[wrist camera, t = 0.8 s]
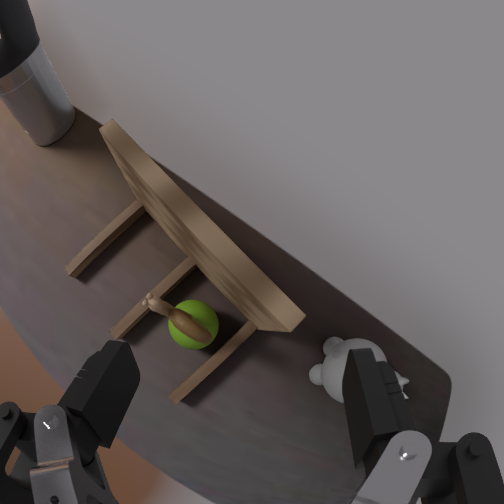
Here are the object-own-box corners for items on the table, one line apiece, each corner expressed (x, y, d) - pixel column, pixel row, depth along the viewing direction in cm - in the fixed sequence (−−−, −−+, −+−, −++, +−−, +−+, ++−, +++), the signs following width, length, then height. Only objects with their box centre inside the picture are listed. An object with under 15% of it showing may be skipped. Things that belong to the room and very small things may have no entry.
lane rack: (69, 269, 33) (-6, 231, 17) (148, 195, 36) (112, 118, 21) (180, 402, 30) (152, 457, 15) (267, 320, 34) (306, 315, 19)
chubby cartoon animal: (370, 416, 32) (406, 434, 23) (297, 378, 33) (321, 393, 24) (396, 368, 34) (437, 375, 25) (328, 326, 35) (360, 325, 26)
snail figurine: (181, 288, 34) (162, 268, 22) (227, 317, 34) (231, 313, 22) (157, 326, 32) (126, 325, 21) (203, 356, 32) (194, 372, 20)
